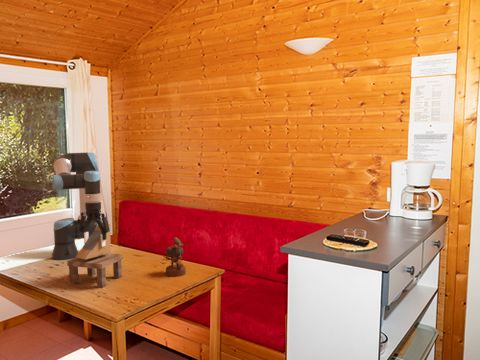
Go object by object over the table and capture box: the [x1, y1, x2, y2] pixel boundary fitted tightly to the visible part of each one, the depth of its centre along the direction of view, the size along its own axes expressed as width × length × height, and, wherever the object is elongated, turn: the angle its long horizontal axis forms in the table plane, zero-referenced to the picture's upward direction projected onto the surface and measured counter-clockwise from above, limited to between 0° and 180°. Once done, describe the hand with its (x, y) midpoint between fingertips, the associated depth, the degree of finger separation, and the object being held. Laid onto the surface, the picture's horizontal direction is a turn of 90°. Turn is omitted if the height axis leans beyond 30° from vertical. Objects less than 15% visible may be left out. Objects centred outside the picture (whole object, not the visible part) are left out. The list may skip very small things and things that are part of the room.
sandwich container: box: [75, 223, 112, 260], centre depth 211 cm, size 9×15×15 cm, turn 146°
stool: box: [66, 253, 124, 289], centre depth 214 cm, size 20×18×12 cm
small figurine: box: [163, 237, 187, 278], centre depth 223 cm, size 15×11×20 cm
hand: (94, 245), depth 212 cm, fingers closed on sandwich container, 9 cm apart
